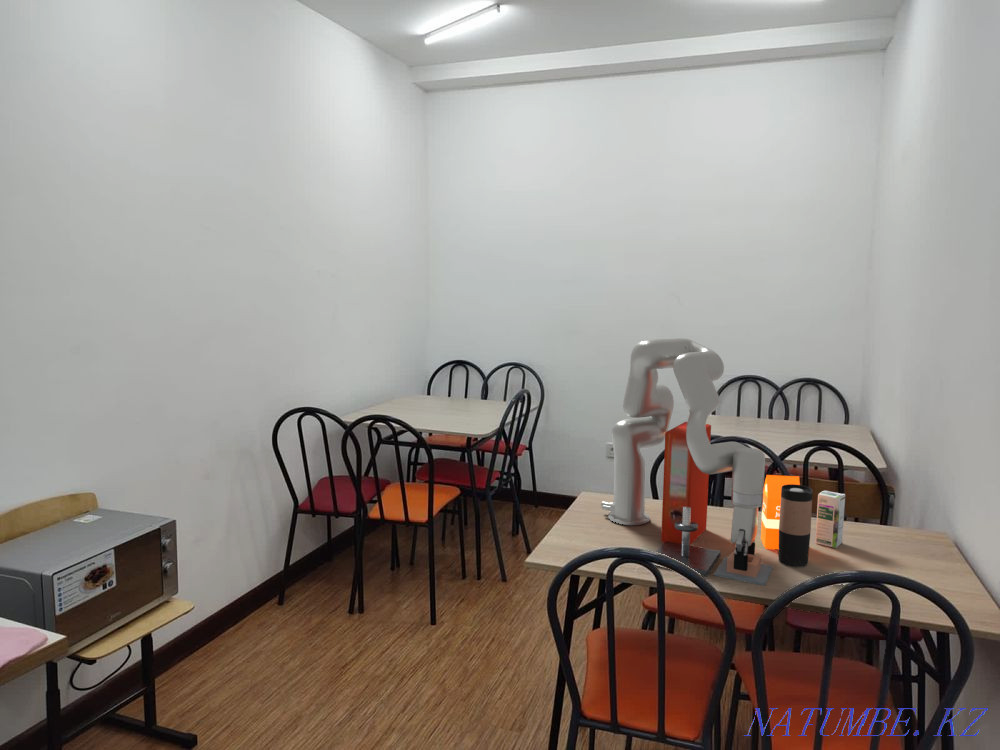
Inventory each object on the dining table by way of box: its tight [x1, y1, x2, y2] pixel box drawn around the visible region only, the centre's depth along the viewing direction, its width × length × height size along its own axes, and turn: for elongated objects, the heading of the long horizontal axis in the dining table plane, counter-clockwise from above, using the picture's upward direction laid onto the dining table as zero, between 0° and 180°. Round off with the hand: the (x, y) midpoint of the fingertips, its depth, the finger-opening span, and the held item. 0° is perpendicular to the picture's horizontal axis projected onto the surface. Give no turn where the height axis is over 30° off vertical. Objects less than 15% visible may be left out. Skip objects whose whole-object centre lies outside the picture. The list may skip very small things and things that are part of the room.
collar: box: [727, 550, 762, 577], centre depth 179 cm, size 7×7×3 cm
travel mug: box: [778, 484, 814, 568], centre depth 184 cm, size 8×8×20 cm
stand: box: [655, 507, 722, 577], centre depth 186 cm, size 15×15×14 cm
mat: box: [713, 557, 774, 587], centre depth 179 cm, size 12×12×1 cm
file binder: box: [660, 421, 712, 546], centre depth 203 cm, size 8×17×32 cm, turn 148°
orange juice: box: [760, 474, 801, 551], centre depth 196 cm, size 8×9×20 cm
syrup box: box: [814, 490, 846, 549], centre depth 198 cm, size 6×6×14 cm
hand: (744, 562), depth 179 cm, fingers open, 9 cm apart
